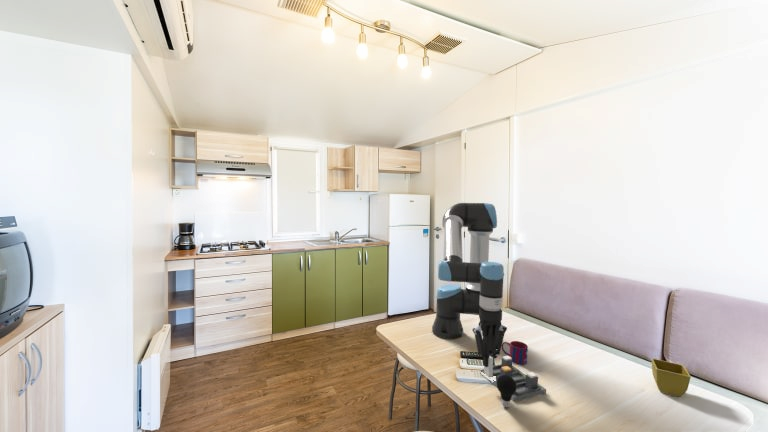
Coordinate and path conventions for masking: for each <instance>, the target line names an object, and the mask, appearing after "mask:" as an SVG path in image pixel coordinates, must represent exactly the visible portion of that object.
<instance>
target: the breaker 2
mask: <svg viewBox="0 0 768 432" xmlns="http://www.w3.org/2000/svg"><path fill="white" fill-rule="evenodd" d="M525 375H526V382H525V386H527V387H528V388H529V389H533V388H537V387H538V384H539V376H538V374H537V373H535V372H533V371H531V372H527V373H526V374H525Z"/></svg>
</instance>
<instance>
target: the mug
mask: <svg viewBox="0 0 768 432" xmlns="http://www.w3.org/2000/svg"><path fill="white" fill-rule="evenodd" d="M505 344H506V345H508V346H509V353H508V352H507V351H506V350H505V349H504V345H505ZM528 347H529V346H528V344H526V343H524V342H522V341H518V340H512V341H511V342H507V341H503V342H502V347H501V350H502V352H503V353H504V354H505V356H509V357H511V358H512V360H513V362H512V364H515V365H519V366H523V365H524V366H525V365H527V364H528V355H529V354H528V352H529V351H528V350H529V349H528Z"/></svg>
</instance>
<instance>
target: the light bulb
mask: <svg viewBox="0 0 768 432" xmlns="http://www.w3.org/2000/svg"><path fill="white" fill-rule="evenodd" d="M496 388H497V390H498V391H499V393H500V397H501V405H502V406H503V407H504V408H509V407H510V405H511V401H512V400H511V397H512V395H513V394H514V393H515V391H516V383H515V381H514V379H513V378H512V377H510V376H508V375H501V376H500V377H499V378H498V379H497V387H496Z"/></svg>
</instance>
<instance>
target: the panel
mask: <svg viewBox="0 0 768 432" xmlns="http://www.w3.org/2000/svg"><path fill="white" fill-rule="evenodd" d="M501 364H502V363H500V364H497V365H495V364H494V366H493V376H496V381H494V380H493V381H494V382H493V383H491V384H492V385H493V386H494V387H495V388H497V379H498V378H499V377H500V369H501ZM511 370H512V378H513V379H514V381H515V383H516V391H515V393H514V394H513V395H512V397H511V400H510V401H512V402H518V401H521V400H525V399H530V398H533V397H537V396H542V395H545V394H547V389H546V388H545V387H544V386H542V385H541V384H539V383H538V387H537V388H533V389H529V388H528V387H527V386H525V382H526V375H527V374H525V373H524V372H522V371H521V370H519V369H518V368H517V367H515V366H514V365H512V369H511ZM481 372H483V373H484V368H483V369H480V373H481Z"/></svg>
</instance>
